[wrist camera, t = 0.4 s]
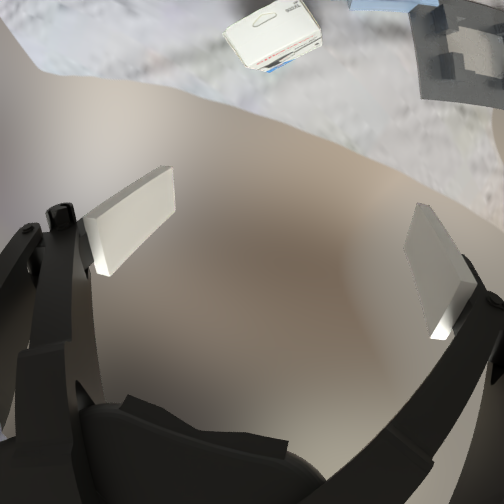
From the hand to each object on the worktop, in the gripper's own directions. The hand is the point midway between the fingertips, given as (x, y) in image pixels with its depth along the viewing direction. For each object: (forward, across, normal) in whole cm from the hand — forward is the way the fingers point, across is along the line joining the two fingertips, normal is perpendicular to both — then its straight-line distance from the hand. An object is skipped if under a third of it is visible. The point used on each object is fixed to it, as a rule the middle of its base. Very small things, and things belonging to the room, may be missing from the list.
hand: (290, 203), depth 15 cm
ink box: (+27, -4, +12) cm, 29 cm away
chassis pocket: (+26, +22, +17) cm, 38 cm away
